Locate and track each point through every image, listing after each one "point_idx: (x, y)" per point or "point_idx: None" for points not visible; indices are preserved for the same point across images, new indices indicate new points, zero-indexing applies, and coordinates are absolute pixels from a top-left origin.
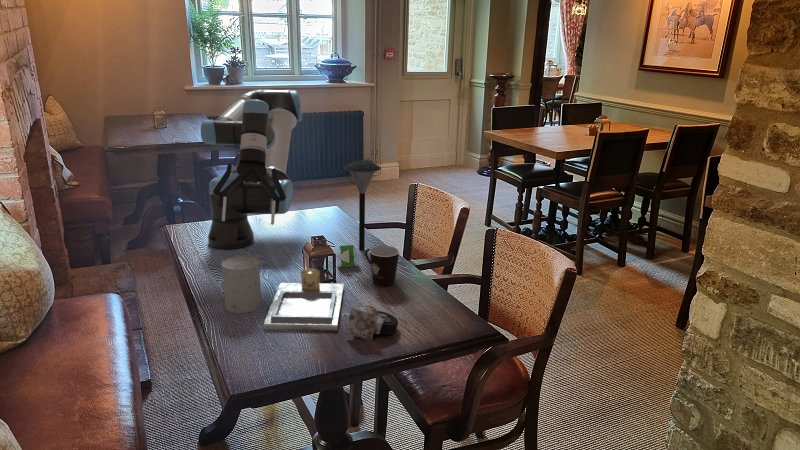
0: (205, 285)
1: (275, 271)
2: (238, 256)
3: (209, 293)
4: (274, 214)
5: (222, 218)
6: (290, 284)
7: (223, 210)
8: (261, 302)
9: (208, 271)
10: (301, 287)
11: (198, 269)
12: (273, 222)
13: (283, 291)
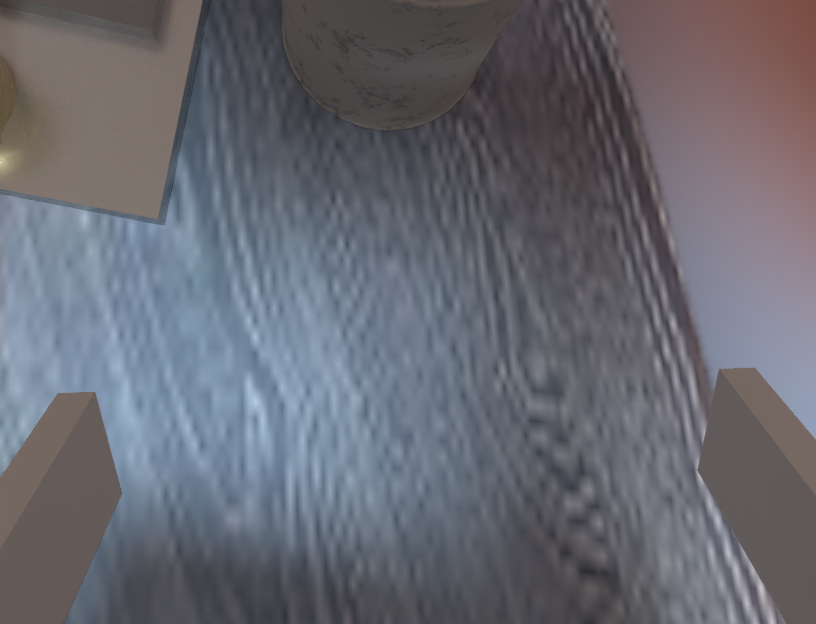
0: (616, 327)
1: (195, 495)
2: (456, 2)
3: (581, 213)
4: (8, 474)
5: (750, 374)
6: (89, 180)
7: (803, 442)
8: (282, 27)
9: (625, 540)
10: (14, 118)
11: (688, 579)
12: (67, 394)
13: (135, 10)
